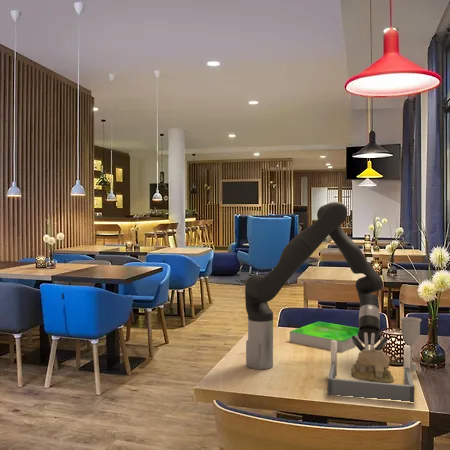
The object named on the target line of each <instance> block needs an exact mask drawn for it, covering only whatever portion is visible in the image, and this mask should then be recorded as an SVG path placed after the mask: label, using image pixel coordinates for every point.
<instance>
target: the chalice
mask: <svg viewBox="0 0 450 450" xmlns="http://www.w3.org/2000/svg"><path fill="white" fill-rule="evenodd" d="M399 320H400V321H401V329H400V330H401V335H402V337H403V339H404V341H405V343H406V344H407V345H408V346H410V372H416V371H418V370H419V369H418V366H417V365H416V364H417V363H415V362H414V361H413V357H414V354H413V351H414V349H413V346H414V345H415V344H416V343H417V341H418V339H419V337H420V335H421V322H422V319H421V318H419V317H413V316H412V317H411V316H402V317H400V318H399ZM406 344H405V345H406ZM402 369H403V370H404V366H402Z"/></svg>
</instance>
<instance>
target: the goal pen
mask: <svg viewBox="0 0 450 450" xmlns="http://www.w3.org/2000/svg"><path fill="white" fill-rule="evenodd" d="M403 367H404V369H403V383H405V384H401V383H400V384H399V383H391V382H377V381H368V380H355V379H343V378H336V377H337V375H338V373H337V372H338V369H337V368H338V351H337V341H336V340H331V350H330V369H329V373H328V377H327V378H328V379H327V396H331V395H340V396H339V397H341V396H353V397H364V398H377V399H391V400H401V401H410V402H414V403H415V386H414V385H415V384H414V380H413V377H412V374H411V371H410V346H409V345H408V344H407V345H406V344H405V345H404V346H403Z"/></svg>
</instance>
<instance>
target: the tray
mask: <svg viewBox="0 0 450 450" xmlns="http://www.w3.org/2000/svg"><path fill="white" fill-rule="evenodd" d="M358 331H359V327H356V326H355V327H354V326H351V325H350V326H349V325H342V324H336V323H331V322H324V321H316V322H313V323H310V324H307V325H304V326H301V327H299V328H295V329H293V330H290V331H289V342H290V343H294V344H299V345H304V346H310V347H314V348H320V349H324V350H329V351H331V340H336V341H337V352H339V353H344V352H347V351H349V350H350V349H352V348H355V347H356V345H355V344H354V343H353V342H352V336H356V335H357V333H358ZM358 339H359V338H358ZM359 342H360V343H361V344H363V343H362V342H361V340H360V339H359Z"/></svg>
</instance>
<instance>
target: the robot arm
mask: <svg viewBox="0 0 450 450" xmlns="http://www.w3.org/2000/svg"><path fill="white" fill-rule="evenodd" d="M316 216H317V219H316V220H315V221H314V222H313V223H312V224H311V225H309V226H307V227H306V228H305V229H303V230H302V231H300V232H299V233H298V234H296V235H295V236H294V237H293V238H292V239H291V240H290V241H289V242H288V243H287V244H286V245H285V247H284V248H283V250H282V251H281V254H280V257H279V260H278V262H277V264H276V265H275V266H274V267H273V268H272V269H271V270H270V271H269V272H268V273H267V274H266V275H262V274H252V275H251V276H250V277H248V279H247V280H246V283H245V287H244V288H245V289H244V290H245V291H244V295H245V296H244V299H245V300H244V301H245V312H246V313H247V340H246V342H245V358H246V359H245V366H246V367H248V368H251V369H254V370H258V371H260V370H267V369H271V368H273V366H274V313H273V311H272V309H271V308H270V306H269V303H268V302H271V301H272V300H273V299H274V298H275V297H276V296H277V295H278V294H279V293H280V291H281V290H282V288H283V287H284V286H285V285H286V283H287V282H288V280H289V279H290V278H291V277H292V276H293V275H294V274H295V273H296V271H298V270H299V268H300V267H301V266H302V265H304V263H305V262H306V261H307V260H309V258H310V257H311V256H312V255H313V253H314V252H315V251H317V249H318V248H319V247H320V246H321V244H322V243H323V242H324V241H325V240H326V239H327V237H328V236H329V238H331V240H332V241H333V243H335V245H336V247H337V248H338V250H339V251H340V253H341V254H342V256H343V258H344V259H345V261H346V263H347V265H348V267H349V269H350V270H351V272H352V273H353V274H355V275H360V274H363V275H364V276H362V277H358V279H357V280H356V281H355V289H356V292H357V295H358V299H359V312H358V328H359V331H358V333H357V335H356V336H352V342H353V343H354V344H355V345H356V346H355V347H356V348H357V349H358V350H359V352H361V351H362V350H363V349H369V348H370V349H369V350H371V348H375V350H380V351H382V349H383V348H384V347H386V345H388V338H386V337H383V336H382V333H381V318H380V317H381V316H380V305H379V304H380V303H379V301H380V300H379V297H378V296H377V295H376V294H374V293H376V292H379V291H381V290H383V288H384V281H383V278H382V277H381V275H380V274H379V273H378V272H377V271H376V270H375V269H374V267H372V266H371V265H370V263H369V262H368V260H367V259H366V257H365V254H363V252H362V250H361V248H360V247H359V246H358V244H356V242H354V241H353V240H352V239H351V238H350V237H349V236H348V235H347V233H346V231H344V229H343V228H342V226H341V225H342V224H343V223H344V222H345V221H346V219H347V217H348V209H347V206H346V205H345V204H344V203H343V202H340V201H332V202H329V203H326V204H323V205H322V206H320V207H319V208H318V210H317V212H316ZM358 338H359V339H360V340H361V342H362V343H360V342H359V339H358ZM363 344H364V345H363ZM375 345H376V346H375Z"/></svg>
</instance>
